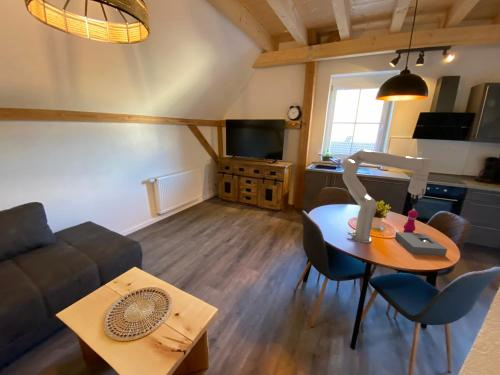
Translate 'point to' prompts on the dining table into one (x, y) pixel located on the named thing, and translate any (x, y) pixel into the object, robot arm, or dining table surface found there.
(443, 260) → the dining table surface
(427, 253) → the board
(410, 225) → the pepper mill
